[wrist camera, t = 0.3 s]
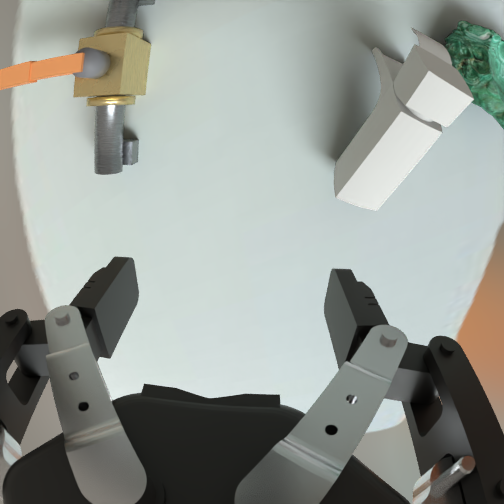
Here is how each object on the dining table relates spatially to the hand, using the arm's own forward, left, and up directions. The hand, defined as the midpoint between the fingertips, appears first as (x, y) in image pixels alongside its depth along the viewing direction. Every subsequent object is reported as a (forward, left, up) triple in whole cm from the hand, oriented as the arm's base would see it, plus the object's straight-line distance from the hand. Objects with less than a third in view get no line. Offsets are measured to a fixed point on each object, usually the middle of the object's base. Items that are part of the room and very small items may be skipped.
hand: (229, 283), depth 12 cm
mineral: (-21, +32, -29) cm, 48 cm away
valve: (-11, -17, -29) cm, 35 cm away
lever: (-11, -24, -20) cm, 33 cm away
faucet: (-8, +15, -29) cm, 34 cm away
